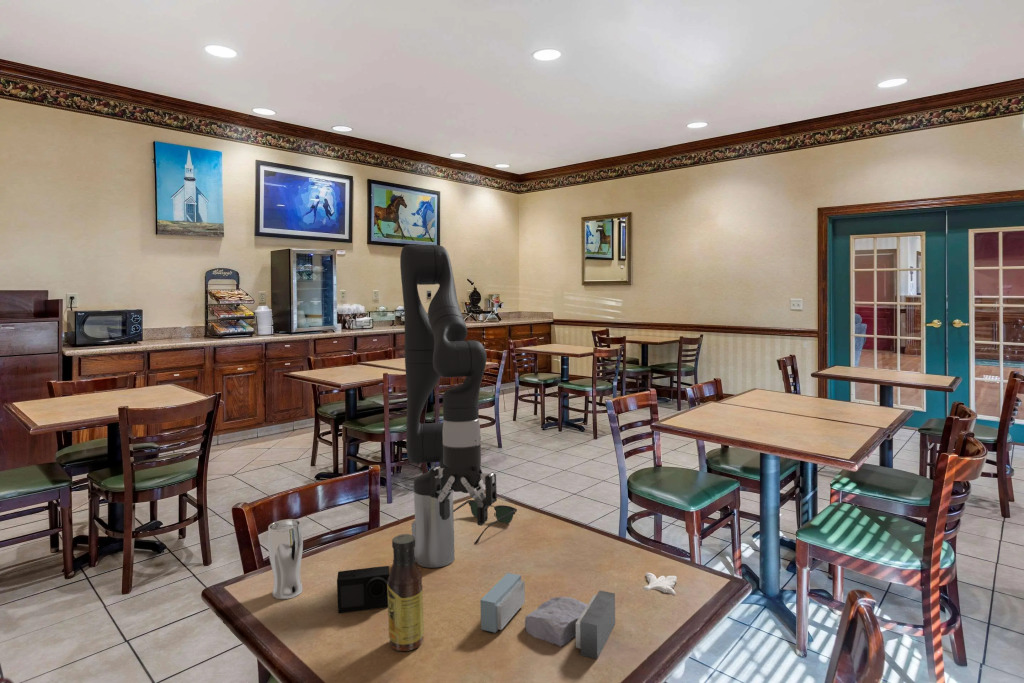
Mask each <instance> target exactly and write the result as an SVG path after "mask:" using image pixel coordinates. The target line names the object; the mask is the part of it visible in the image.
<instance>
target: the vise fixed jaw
mask: <svg viewBox="0 0 1024 683" xmlns="http://www.w3.org/2000/svg"><path fill="white" fill-rule="evenodd" d="M615 625H616V592H614V593H613V592H610V591H604V590H599V591H598V592H597V594H592V597H591V599H590V600H589V601H588V603H587V606H586V608H585V609H584V611H583V613H582V614H581V616H580V617H579V619H578V620H577V622H576V636H575V648H576V649H578V650H580V656H582V657H587V658H590V659H591V658H592V659H595V660H598V658H599V656H600V655H601V652H602V651H603V649H604V646H605V645H606V643H607V642H608V639H609V637H610V636H611V634H612V632H613V629H614V628H615Z"/></svg>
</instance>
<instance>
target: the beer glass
mask: <svg viewBox="0 0 1024 683" xmlns="http://www.w3.org/2000/svg"><path fill="white" fill-rule="evenodd" d="M303 538H304V537H303V530H302V521H300V520H299V519H292V518H288V519H281V520H278V521H277V520H276V521H274V522H272V523H270V524H269V525H268V534H267V547H268V548H267V549H268V550H267V551H268V557H269V562H270V566H271V570H272V575H273V587H272V588H273V589H272V597H273V598H274V599H276V600H289V599H293V598H296V597H297V596H299V595H301V593H303V584H302V579H301V568H302V566H301V565H302V558H303V548H304V543H303V542H304V539H303Z"/></svg>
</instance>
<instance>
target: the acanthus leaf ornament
mask: <svg viewBox="0 0 1024 683" xmlns="http://www.w3.org/2000/svg"><path fill="white" fill-rule="evenodd" d="M644 576H645V577H646V580H647V581H648V585H645V586H643V590H644V591H650V590H657V591H660V592H662V593H664V594H665V593H666V594H671V595H672V596H676V591H675V590H674V588H675V586H676V583H677V581H678V577H677V576H676V575H667V576H665V575H660V576H659V577H656V575H655V574H653V573H651V572H645V574H644Z"/></svg>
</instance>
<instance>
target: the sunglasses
mask: <svg viewBox="0 0 1024 683" xmlns="http://www.w3.org/2000/svg"><path fill="white" fill-rule="evenodd" d="M467 504H468V505H469V507H470V511H471V514H472V516H473V517H474V518H477V507H479V506H478V505H477V503H476V501H475V500H474V499H467V500H466V501H465V502H462V504H460V505H458V506H457V507H456V508H454V509H453V513H455V512H457V511H458V510H459V509H461V508H462V507H464V506H465V505H467ZM489 507H490V508H492V507H493V509H494V511H495V512H494V513H493V516H494V517H495V518H496V520H495V521H493V522H492V523H490V524H489V525H488V526H486V527H485V528H484V530H483V531H482V532H481V533H480V535H479V536H478V538H477V539H476V540H475V542H474V544H477V543H479V541H480V539H481V537H482V536H483V534H484V533H485V532H486V531H487V529H488V528H490V527H491V526H493V525H495V524H496V523H498V522H499V523H504V524H510V523H511V522H512V521H513V518H514V515H516V513H517V510H518V509H517V508H516V507H514V506H509V505H503V504H502V505H501V504H500V505H494V504H492V505H490V506H488V509H489Z"/></svg>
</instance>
